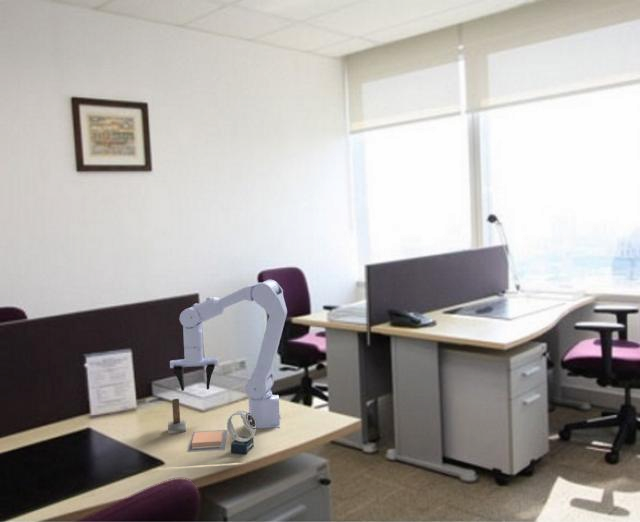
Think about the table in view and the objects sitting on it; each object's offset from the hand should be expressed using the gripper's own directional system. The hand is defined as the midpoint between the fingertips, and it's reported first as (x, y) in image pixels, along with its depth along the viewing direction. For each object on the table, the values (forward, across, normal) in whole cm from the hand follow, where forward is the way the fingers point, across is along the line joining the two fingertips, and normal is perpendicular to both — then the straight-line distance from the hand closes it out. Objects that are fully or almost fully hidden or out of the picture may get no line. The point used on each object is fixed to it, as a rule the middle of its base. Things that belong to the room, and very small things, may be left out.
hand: (195, 389), depth 190 cm
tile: (+9, -5, +15) cm, 18 cm away
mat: (+10, -5, +18) cm, 21 cm away
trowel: (+10, +5, +8) cm, 14 cm away
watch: (+11, -15, +26) cm, 32 cm away
